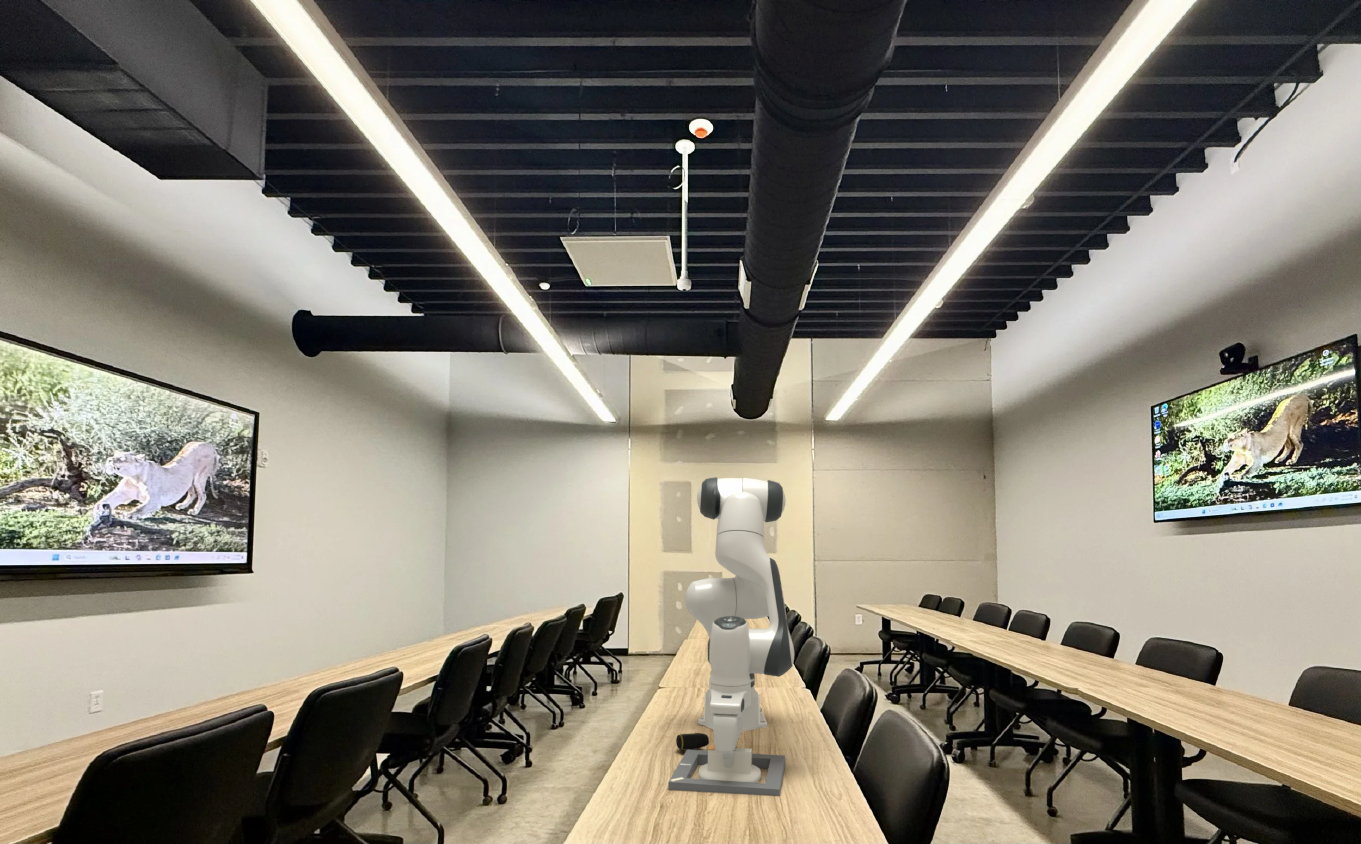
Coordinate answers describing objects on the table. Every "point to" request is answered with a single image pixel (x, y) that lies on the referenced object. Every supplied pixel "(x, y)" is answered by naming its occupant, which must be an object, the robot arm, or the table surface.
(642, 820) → the table surface
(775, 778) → the grey square frame
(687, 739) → the tape measure
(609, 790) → the table surface
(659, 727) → the table surface
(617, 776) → the table surface
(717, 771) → the dial knob
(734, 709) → the robot arm
